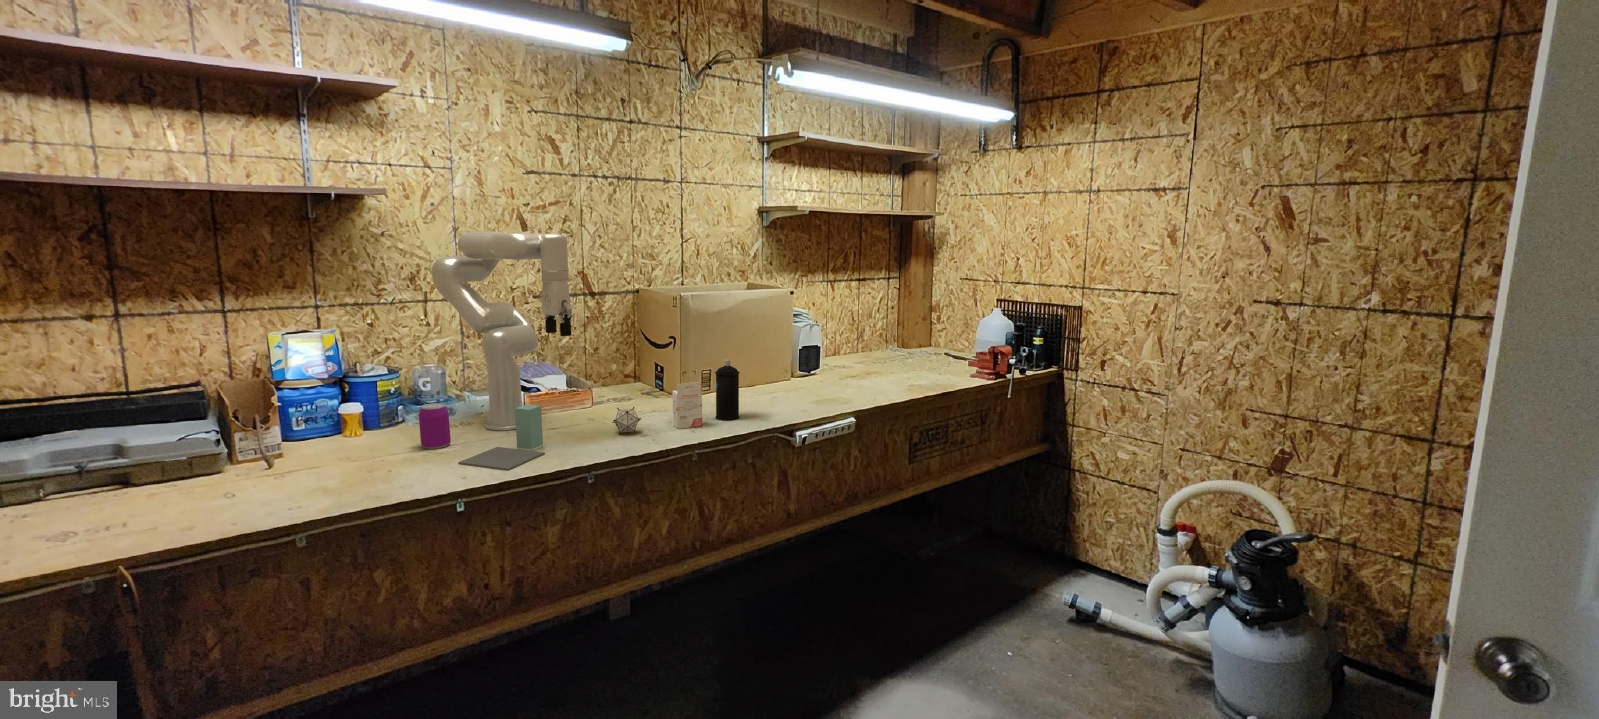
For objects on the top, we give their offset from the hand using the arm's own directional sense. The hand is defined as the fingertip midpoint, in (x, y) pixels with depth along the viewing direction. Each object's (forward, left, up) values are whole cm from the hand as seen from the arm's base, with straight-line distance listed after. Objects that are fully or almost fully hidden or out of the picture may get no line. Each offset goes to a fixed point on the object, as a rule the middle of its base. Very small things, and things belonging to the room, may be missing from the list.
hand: (558, 334), depth 212 cm
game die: (+16, +10, -32) cm, 37 cm away
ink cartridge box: (+30, +24, -32) cm, 50 cm away
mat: (-2, -25, -31) cm, 40 cm away
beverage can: (-28, -21, -32) cm, 47 cm away
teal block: (-2, -13, -31) cm, 34 cm away
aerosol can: (+38, +38, -32) cm, 62 cm away
